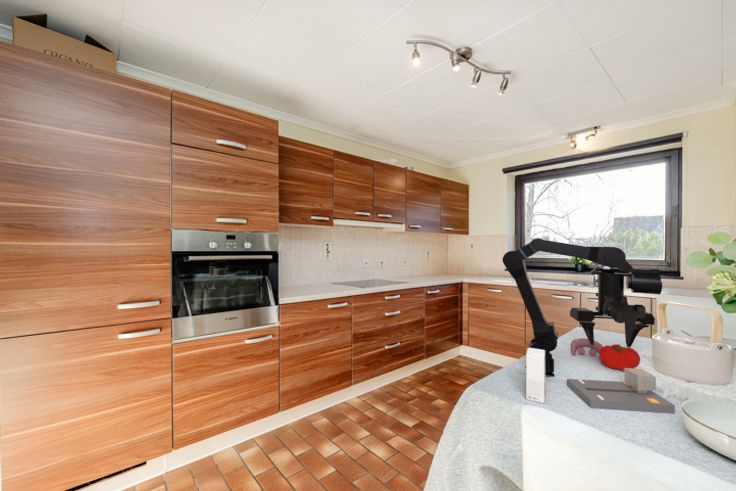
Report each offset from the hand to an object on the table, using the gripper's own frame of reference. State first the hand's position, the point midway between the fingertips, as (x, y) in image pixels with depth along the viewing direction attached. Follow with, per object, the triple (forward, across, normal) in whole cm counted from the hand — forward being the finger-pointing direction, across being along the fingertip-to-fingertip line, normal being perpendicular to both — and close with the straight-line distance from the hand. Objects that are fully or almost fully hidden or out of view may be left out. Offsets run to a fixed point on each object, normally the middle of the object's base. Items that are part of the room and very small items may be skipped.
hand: (609, 346), depth 87 cm
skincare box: (+12, -23, -11) cm, 28 cm away
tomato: (+11, +10, +15) cm, 22 cm away
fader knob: (+9, +3, -8) cm, 12 cm away
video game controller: (+12, +6, +25) cm, 28 cm away
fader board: (+11, -3, -8) cm, 14 cm away
